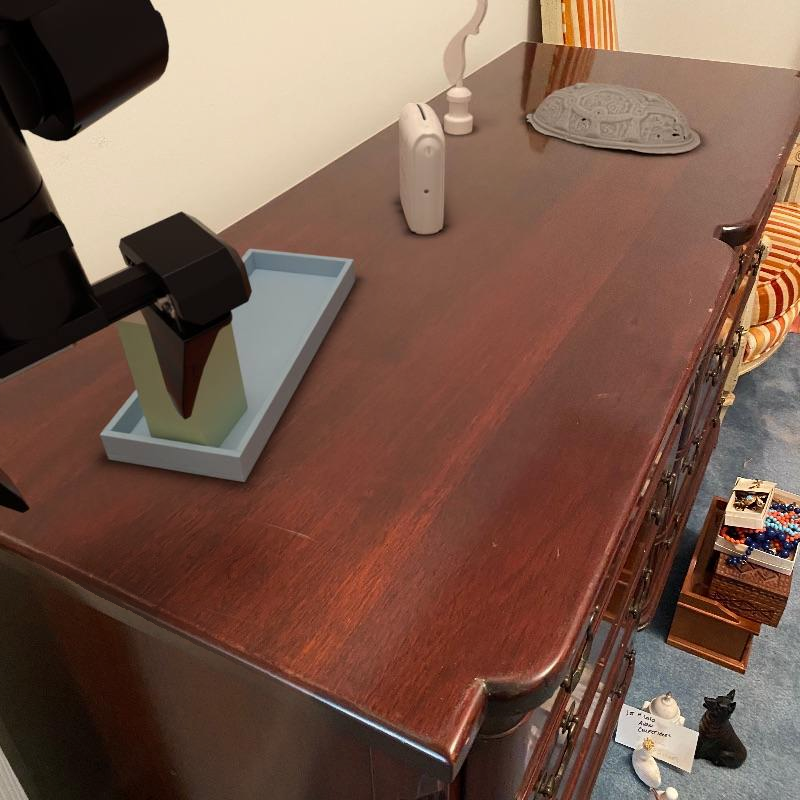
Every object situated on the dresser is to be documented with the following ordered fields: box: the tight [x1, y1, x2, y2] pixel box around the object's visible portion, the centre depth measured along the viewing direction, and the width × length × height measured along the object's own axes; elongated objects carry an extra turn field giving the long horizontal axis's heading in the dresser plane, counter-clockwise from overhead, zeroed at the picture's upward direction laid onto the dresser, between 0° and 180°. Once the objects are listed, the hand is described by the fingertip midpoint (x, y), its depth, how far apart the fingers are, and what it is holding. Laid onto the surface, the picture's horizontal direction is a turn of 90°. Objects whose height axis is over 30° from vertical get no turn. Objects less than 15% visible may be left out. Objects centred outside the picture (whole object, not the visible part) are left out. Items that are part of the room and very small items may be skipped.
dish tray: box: [99, 248, 356, 483], centre depth 67 cm, size 29×11×3 cm, turn 166°
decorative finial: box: [442, 0, 489, 136], centre depth 102 cm, size 6×4×25 cm
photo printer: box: [398, 101, 446, 235], centre depth 85 cm, size 10×4×12 cm, turn 8°
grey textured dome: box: [525, 82, 701, 155], centre depth 107 cm, size 16×25×7 cm, turn 54°
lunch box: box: [115, 310, 248, 448], centre depth 56 cm, size 7×5×13 cm
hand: (107, 457), depth 40 cm, fingers open, 9 cm apart
